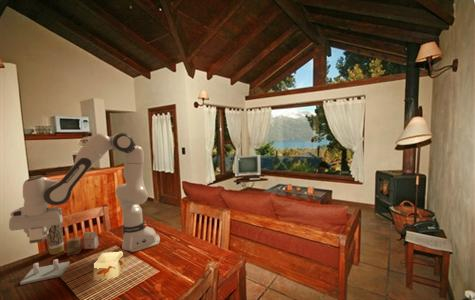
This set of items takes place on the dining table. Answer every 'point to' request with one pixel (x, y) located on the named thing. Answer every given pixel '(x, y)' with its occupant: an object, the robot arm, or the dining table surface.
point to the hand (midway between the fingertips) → (38, 235)
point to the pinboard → (45, 272)
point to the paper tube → (55, 239)
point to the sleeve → (37, 234)
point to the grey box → (90, 240)
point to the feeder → (74, 246)
